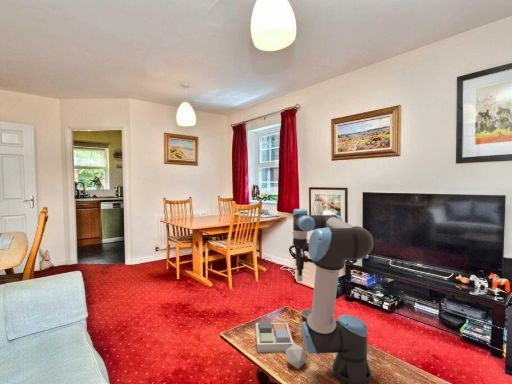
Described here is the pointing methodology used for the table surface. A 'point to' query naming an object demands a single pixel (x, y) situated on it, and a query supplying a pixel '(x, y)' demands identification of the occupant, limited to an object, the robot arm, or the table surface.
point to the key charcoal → (265, 327)
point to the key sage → (266, 338)
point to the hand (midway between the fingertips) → (299, 280)
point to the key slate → (282, 336)
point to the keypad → (272, 346)
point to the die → (296, 355)
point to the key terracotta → (279, 327)
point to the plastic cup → (305, 314)
